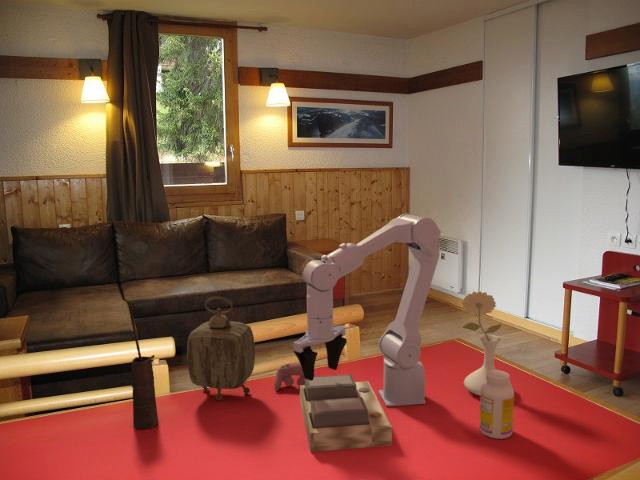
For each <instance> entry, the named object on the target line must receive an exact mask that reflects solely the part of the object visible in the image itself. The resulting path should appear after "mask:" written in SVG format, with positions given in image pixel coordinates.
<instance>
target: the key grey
mask: <svg viewBox="0 0 640 480" xmlns="http://www.w3.org/2000/svg"><path fill="white" fill-rule="evenodd" d="M355 382H356V381H355V378H354V377H353V374H352V373H351V374H348V373H347V374H333V375H332V374H331V375H320V376H319V375H316V376H315V375H314V379H313V380H312V381H310V380H308V379H305V394H306V398H307V401H312V400H327V399H342V398H356V383H355Z"/></svg>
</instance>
